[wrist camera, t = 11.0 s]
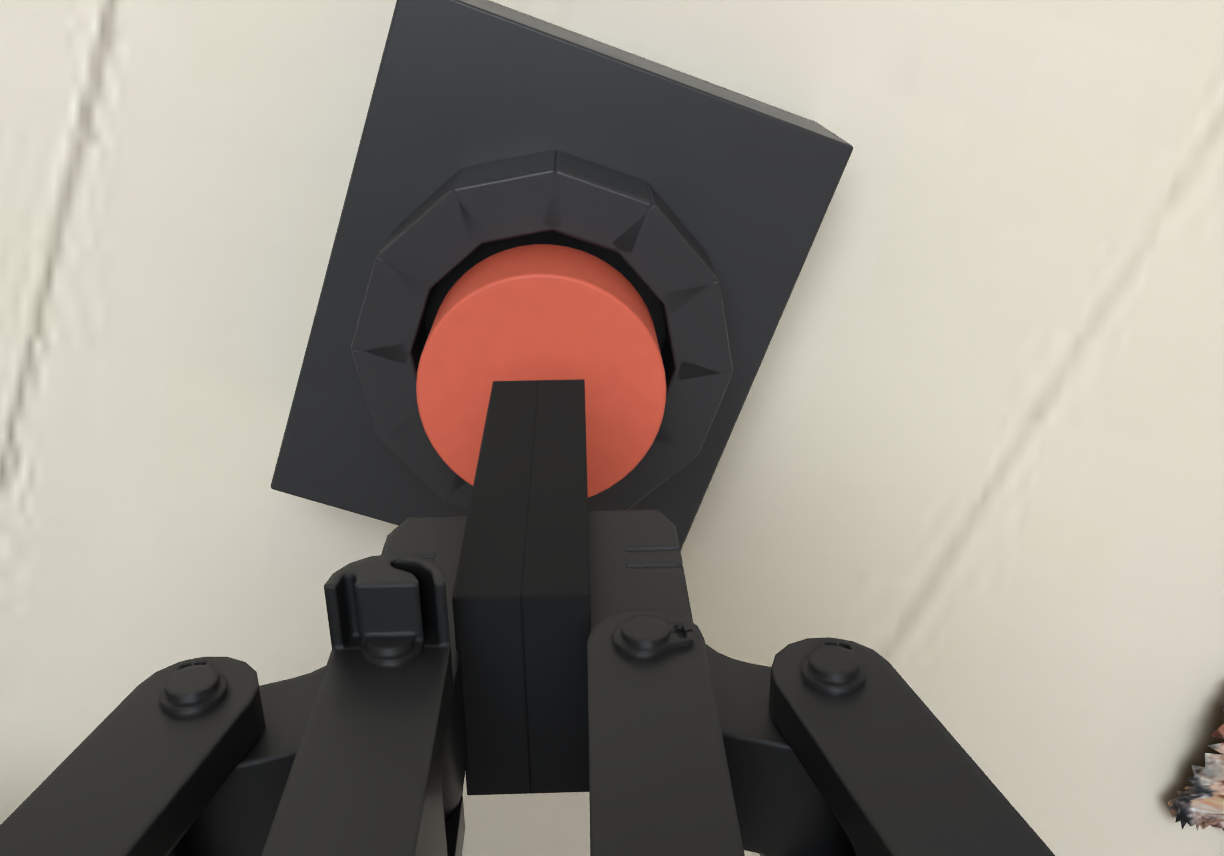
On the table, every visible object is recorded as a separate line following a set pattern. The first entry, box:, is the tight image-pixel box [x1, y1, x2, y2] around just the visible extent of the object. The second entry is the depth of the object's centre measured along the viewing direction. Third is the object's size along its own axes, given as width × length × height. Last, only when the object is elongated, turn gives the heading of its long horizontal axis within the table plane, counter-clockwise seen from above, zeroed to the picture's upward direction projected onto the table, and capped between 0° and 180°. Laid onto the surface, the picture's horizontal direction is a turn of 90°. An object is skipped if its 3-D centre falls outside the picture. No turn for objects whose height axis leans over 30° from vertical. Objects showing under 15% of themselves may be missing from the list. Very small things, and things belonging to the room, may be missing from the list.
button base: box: [271, 0, 853, 551], centre depth 25 cm, size 12×10×6 cm
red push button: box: [416, 244, 666, 497], centre depth 22 cm, size 5×5×2 cm
